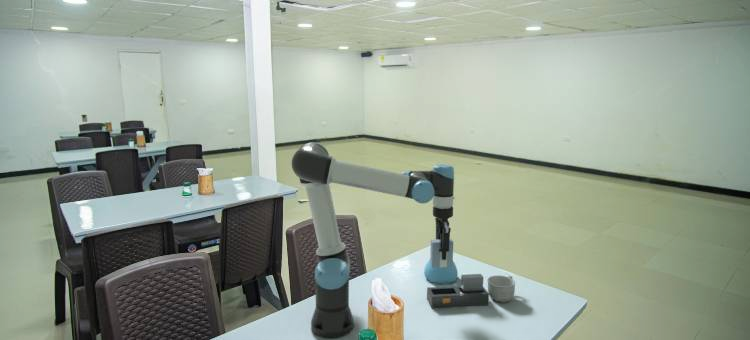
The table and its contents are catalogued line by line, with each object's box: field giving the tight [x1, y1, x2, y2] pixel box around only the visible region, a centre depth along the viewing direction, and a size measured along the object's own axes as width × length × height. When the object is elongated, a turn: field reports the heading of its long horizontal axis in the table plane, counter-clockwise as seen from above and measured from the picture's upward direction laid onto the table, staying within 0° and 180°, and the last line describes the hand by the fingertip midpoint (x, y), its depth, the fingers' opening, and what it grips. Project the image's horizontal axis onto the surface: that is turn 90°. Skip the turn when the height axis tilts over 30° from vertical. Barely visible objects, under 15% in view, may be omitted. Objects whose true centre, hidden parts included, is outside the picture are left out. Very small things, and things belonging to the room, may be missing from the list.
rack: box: [426, 273, 490, 309], centre depth 163 cm, size 23×8×11 cm, turn 97°
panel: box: [429, 238, 454, 267], centre depth 157 cm, size 8×3×10 cm, turn 95°
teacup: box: [487, 275, 516, 303], centre depth 168 cm, size 14×11×8 cm
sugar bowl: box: [423, 258, 459, 285], centre depth 185 cm, size 15×15×12 cm
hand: (441, 264), depth 158 cm, fingers closed on panel, 3 cm apart
